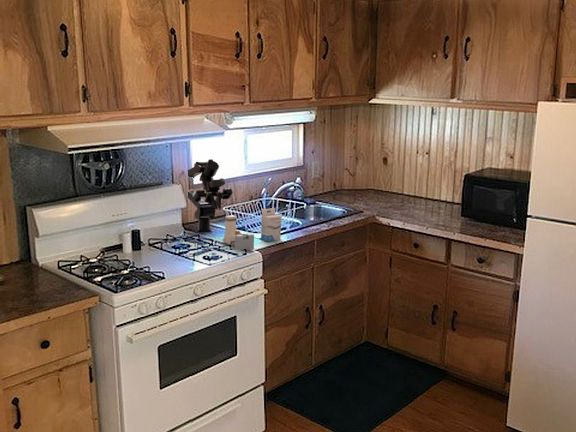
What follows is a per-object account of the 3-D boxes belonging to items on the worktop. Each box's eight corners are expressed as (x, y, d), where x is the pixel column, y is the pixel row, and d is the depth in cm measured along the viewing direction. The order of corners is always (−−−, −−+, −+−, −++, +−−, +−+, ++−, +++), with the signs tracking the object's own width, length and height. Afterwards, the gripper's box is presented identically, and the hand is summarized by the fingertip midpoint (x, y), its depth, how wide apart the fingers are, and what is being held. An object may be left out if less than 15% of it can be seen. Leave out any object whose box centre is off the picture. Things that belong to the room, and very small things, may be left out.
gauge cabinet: (234, 248, 278) (234, 234, 277) (249, 246, 282) (250, 233, 281) (238, 250, 275) (238, 236, 274) (253, 248, 279) (254, 234, 278)
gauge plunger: (234, 235, 283) (234, 230, 282) (239, 235, 284) (239, 229, 284) (242, 239, 276) (243, 234, 276) (247, 239, 278) (248, 233, 277)
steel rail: (223, 240, 292) (223, 238, 292) (228, 240, 294) (228, 237, 293) (239, 248, 279) (239, 245, 279) (245, 247, 281) (245, 245, 280)
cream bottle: (224, 241, 289) (224, 215, 287) (233, 240, 292) (234, 215, 289) (229, 244, 285) (229, 218, 283) (238, 243, 288) (239, 217, 285)
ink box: (267, 242, 293) (268, 211, 290) (260, 239, 296) (261, 209, 293) (280, 239, 298) (281, 209, 295) (274, 237, 302) (275, 207, 299)
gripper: (196, 173, 292) (206, 200, 285) (231, 171, 302) (242, 198, 296) (189, 187, 300) (198, 214, 293) (223, 185, 310) (233, 211, 304)
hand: (218, 209), depth 296 cm, fingers closed
